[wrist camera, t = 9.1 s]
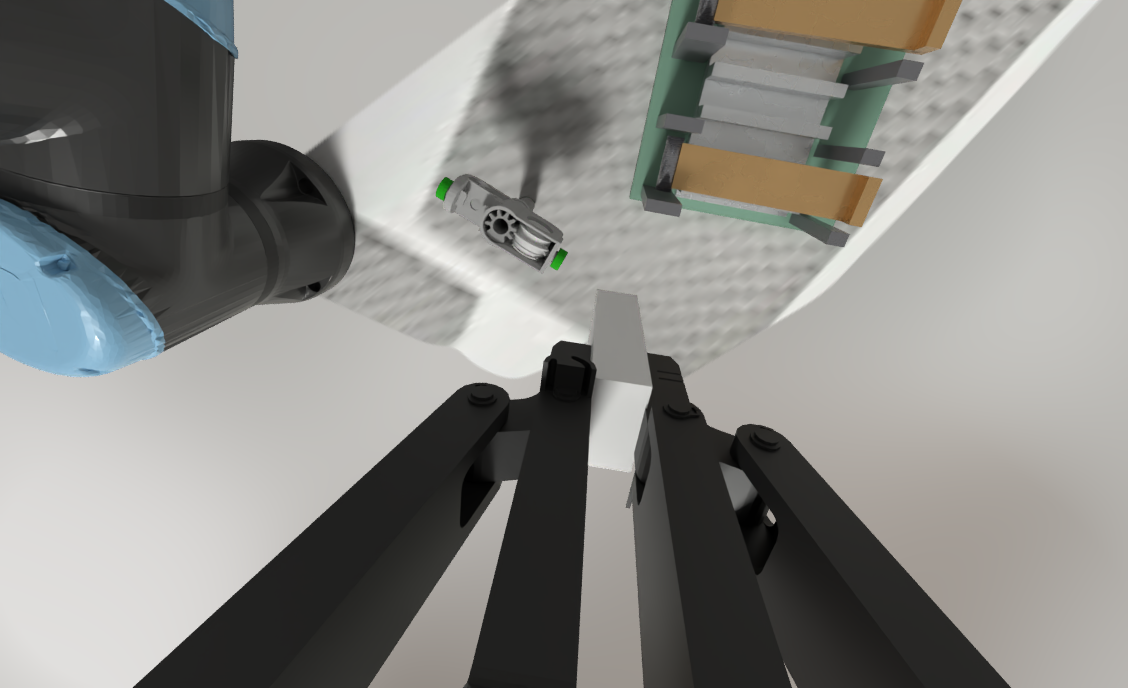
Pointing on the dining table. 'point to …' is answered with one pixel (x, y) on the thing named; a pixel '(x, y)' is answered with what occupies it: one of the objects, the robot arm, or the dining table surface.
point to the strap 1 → (842, 20)
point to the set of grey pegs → (708, 39)
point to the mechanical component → (504, 221)
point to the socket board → (680, 95)
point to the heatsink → (767, 99)
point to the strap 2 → (766, 182)
